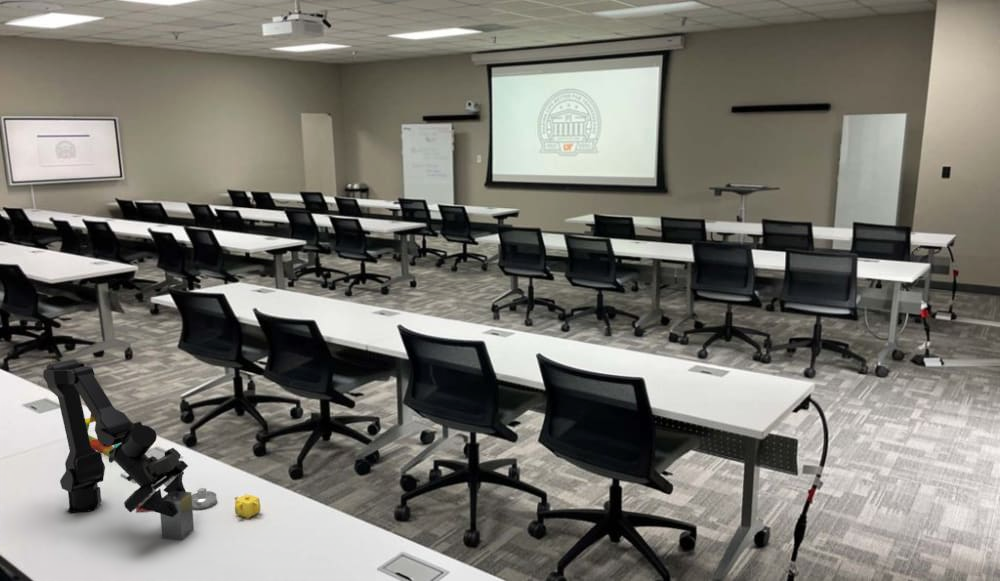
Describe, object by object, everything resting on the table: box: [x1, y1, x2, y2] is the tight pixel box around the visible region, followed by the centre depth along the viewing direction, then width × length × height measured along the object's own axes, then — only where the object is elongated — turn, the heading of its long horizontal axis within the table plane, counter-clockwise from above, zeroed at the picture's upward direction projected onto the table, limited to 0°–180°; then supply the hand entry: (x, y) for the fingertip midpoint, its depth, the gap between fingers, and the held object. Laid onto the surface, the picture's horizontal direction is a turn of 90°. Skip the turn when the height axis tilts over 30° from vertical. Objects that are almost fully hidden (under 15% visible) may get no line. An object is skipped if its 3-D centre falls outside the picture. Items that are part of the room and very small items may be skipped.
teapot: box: [234, 493, 261, 520], centre depth 189 cm, size 8×6×5 cm
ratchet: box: [135, 487, 218, 513], centre depth 193 cm, size 20×7×4 cm, turn 102°
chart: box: [85, 413, 122, 457], centre depth 229 cm, size 30×3×15 cm, turn 54°
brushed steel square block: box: [159, 491, 195, 541], centre depth 178 cm, size 5×5×10 cm
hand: (181, 509), depth 178 cm, fingers open, 6 cm apart
